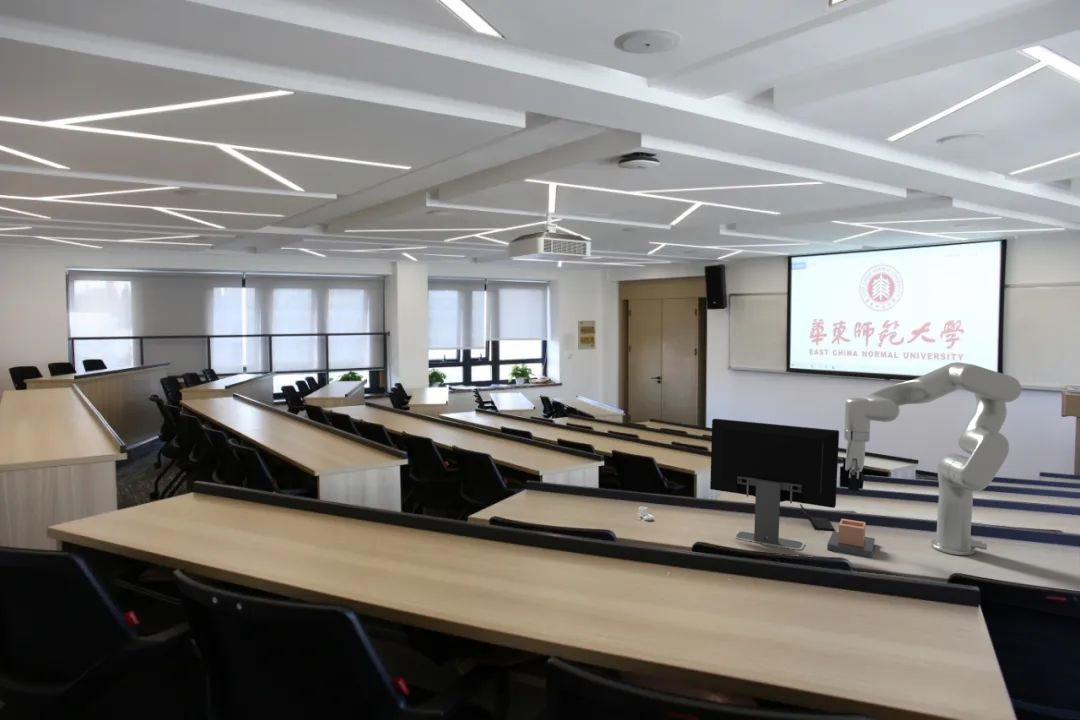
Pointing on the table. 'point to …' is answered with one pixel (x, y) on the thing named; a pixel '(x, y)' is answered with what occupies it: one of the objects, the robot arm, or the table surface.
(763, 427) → the computer monitor
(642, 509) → the teacup and saucer
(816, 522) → the handheld gaming console
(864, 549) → the base plate
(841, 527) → the pink storage bin
